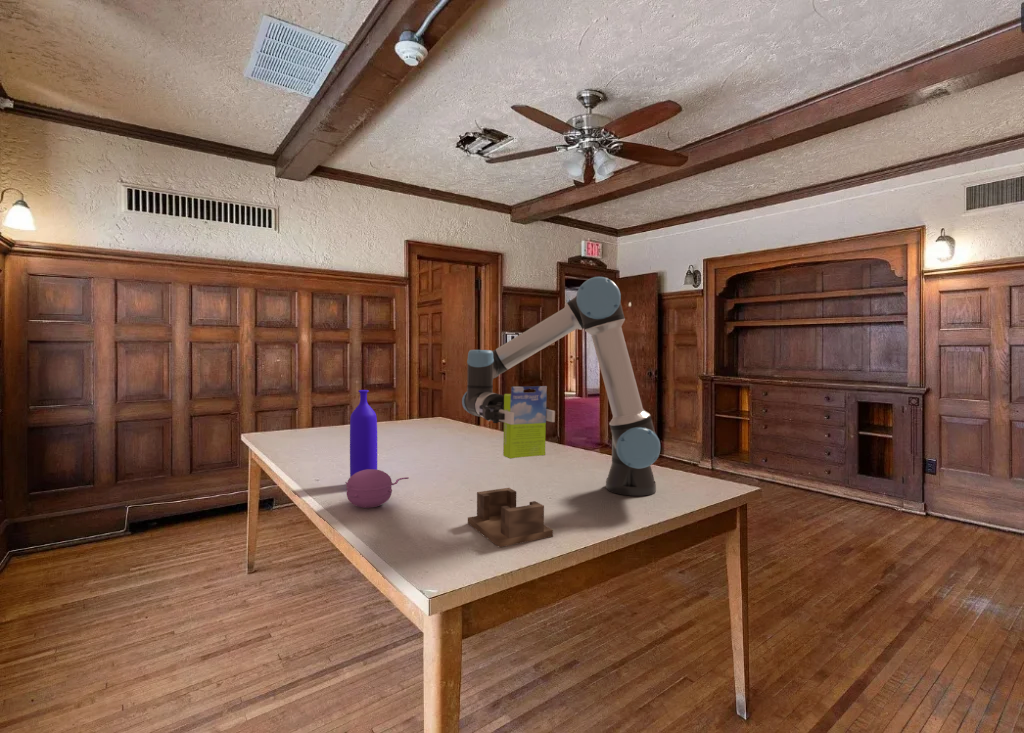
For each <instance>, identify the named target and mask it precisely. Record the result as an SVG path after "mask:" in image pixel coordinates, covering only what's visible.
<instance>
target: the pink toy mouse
mask: <svg viewBox="0 0 1024 733" xmlns="http://www.w3.org/2000/svg"><path fill="white" fill-rule="evenodd" d="M408 479H410V478H409V477H400V478H398V479H396V480H395V482H392V478H391V476H390V475H389V474H388V473H386V472H385V471H383V470H380V469H377V470H376V469H367V470H362V471H359V472H357V473H355V474H354V475H352V476H351V477H349V478H348V480H347V481H345V484H346V498H347V499H348V502H350V504H352V506H355V507H357V508H363V509H371V508H377V507H379V506H382V505H383V504H386V503H387V502H388V501H389V499H390V498H391V496H392V494H393V493H392V492H393V489H392V486H394V485H397V484H398V483H399V481H401V480H408Z"/></svg>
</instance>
